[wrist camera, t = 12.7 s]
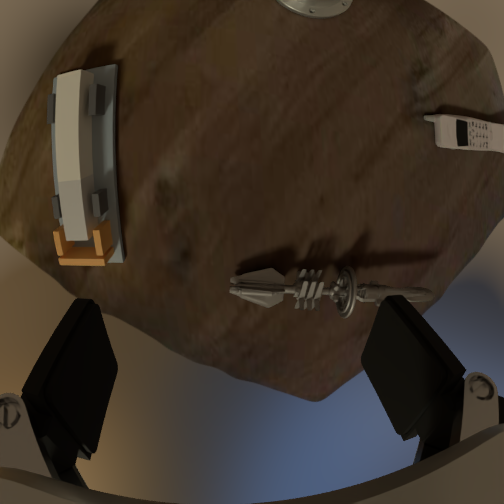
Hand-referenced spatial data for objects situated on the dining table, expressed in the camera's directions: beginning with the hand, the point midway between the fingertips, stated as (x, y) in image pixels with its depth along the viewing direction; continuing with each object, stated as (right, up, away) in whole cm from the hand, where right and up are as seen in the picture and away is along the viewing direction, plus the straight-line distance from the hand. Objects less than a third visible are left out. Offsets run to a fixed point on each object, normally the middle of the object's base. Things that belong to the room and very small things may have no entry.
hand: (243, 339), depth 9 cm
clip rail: (-23, +14, +24) cm, 36 cm away
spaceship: (+14, -2, +36) cm, 39 cm away
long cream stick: (-23, +16, +22) cm, 36 cm away
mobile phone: (+39, +24, +27) cm, 54 cm away
